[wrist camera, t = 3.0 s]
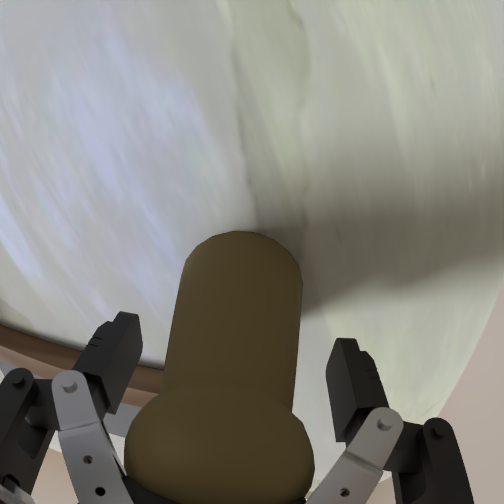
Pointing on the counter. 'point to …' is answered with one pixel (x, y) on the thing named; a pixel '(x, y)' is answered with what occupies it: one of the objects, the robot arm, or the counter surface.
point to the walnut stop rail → (70, 364)
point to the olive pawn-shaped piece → (228, 383)
